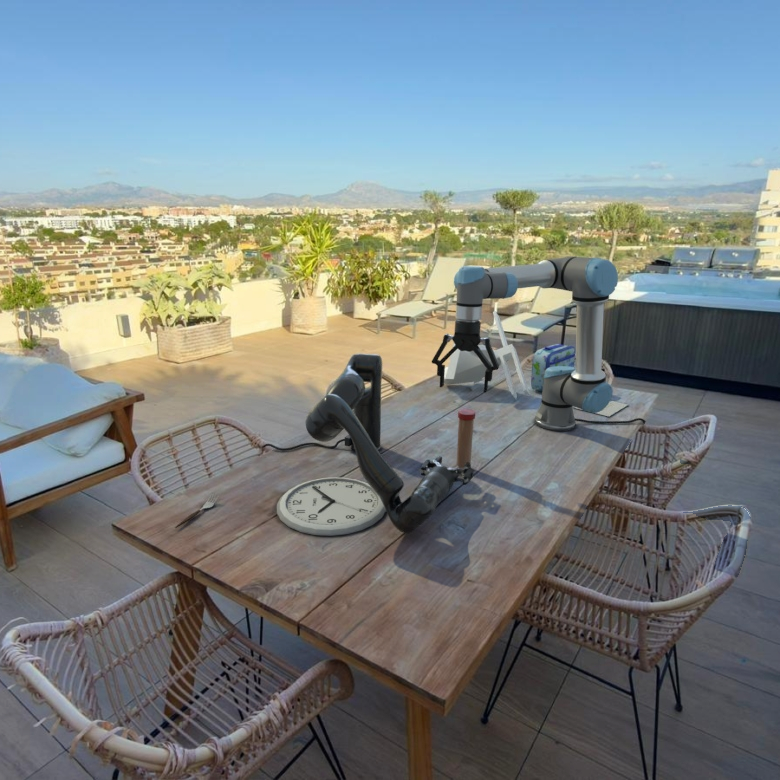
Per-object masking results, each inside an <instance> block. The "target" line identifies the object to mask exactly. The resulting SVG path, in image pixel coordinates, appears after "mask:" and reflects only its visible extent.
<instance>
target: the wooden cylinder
mask: <svg viewBox="0 0 780 780" xmlns="http://www.w3.org/2000/svg"><path fill="white" fill-rule="evenodd" d="M474 420H475V419H473V420H462V419H459V418H458V430H457V448H456V465H455V467H458V466H459V467H460V468H461V467H464V465H465V464H466V463H467V462H470V464H471V463H472V451H473V450H472V448H473V435H474ZM471 465H472V464H471ZM462 473H463V471H462Z"/></svg>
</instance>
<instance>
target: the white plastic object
mask: <svg viewBox="0 0 780 780" xmlns="http://www.w3.org/2000/svg"><path fill="white" fill-rule="evenodd" d="M492 315H493V319H494V321H495V324H496V325H495V326H496V328H497V332H498V335H499V338H500V342H501V345H502V347H500V348H498V349H496V350H495V349H493V352H494V354H495V357H496V359H497V362H498V364H499V367H500V366H502V370H503V373H504V376H505V380H506V383H507V386H508V390H509V393H510V394H511V395H512V397H513V398H514V399H515V400H517V392H516V391H517V390H516V388H515V385H514V381H513V378H512V375H511V371H510V369H509V365H508V361H510V360H513V363H514V366H515V369H516V372H517V376H518V380H519V382H520V385H521V389H522V391H523V393H524V395H525V396H526V397H528V396H531V395H530V390H529V388H528V387H529V386H528V384H527V381H526V378H525V375H524V371H523V369H522V368H523V367H522V366H521V362H520V359H519V355H518V352H517V349H516V347H515V346H514V345H513V343H511V344H508V341H507V337H506V334H505V331H504V328H503V325H502V321H501V318H500V315H499V314H498V312H497V311H496V310H495V311H492ZM454 346H455V343H454V342H453V344H452V348H453V347H454ZM478 346H479V348H480V350H481V351H482V353H483V354H484V355H485V357H486V358H487V359H488V361H489V362H490V364H491V365H492V366H493V364H492V362H491V359H490V357H489V355H488V352H487V350H486V347H485V345H483V344H478ZM486 369H487V368H486V367H485V365H484V364H483V363H482V361H481V360H480V359H479V357H478V356H477V354H475V352H474V351H471V352H468V351H460V350H459V349H457V350H456V351H455V352H454V353H453V354H452V355H451V356H450V357H449V362H448V366H445V373H444V386H449V385H458V384H467V383H468V384H469V383H473V384H477V383H480V382H482V381H484V378H485V371H486Z"/></svg>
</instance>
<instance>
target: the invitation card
mask: <svg viewBox="0 0 780 780" xmlns="http://www.w3.org/2000/svg"><path fill="white" fill-rule="evenodd" d="M628 406H629V404H627V403H623V402H618V401H614V400H610V402H609V404H608V405H607V406H606V407H605V408H604V409H603V410H602V411H600V412H597V413H595V414H596V415H600V416H604V417H608V418H609V417H611V416H613V415H614V414H616V413H617V412H619V411H621V410H623V409H624V408H626V407H628ZM573 409H575V410H581V411H583V410H582V409H580V408H577V407H575V406H573Z"/></svg>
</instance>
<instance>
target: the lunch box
mask: <svg viewBox="0 0 780 780" xmlns="http://www.w3.org/2000/svg"><path fill="white" fill-rule="evenodd" d="M575 361H576V347H575V346H572V345H565V344H560V343H555V344H552V345H547V346H545V347H542V348H539V349H537V350H536V351H535V353H534V355H533V358H532V363H531V364H532V365H531V376H530V377H531V378H530V387H531V389H532V390H536V391H539V392H540V391H541V392H542V391H543V378H544V375H545V370H546V369H547V368H549V367H555V366H569V367H575Z"/></svg>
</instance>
